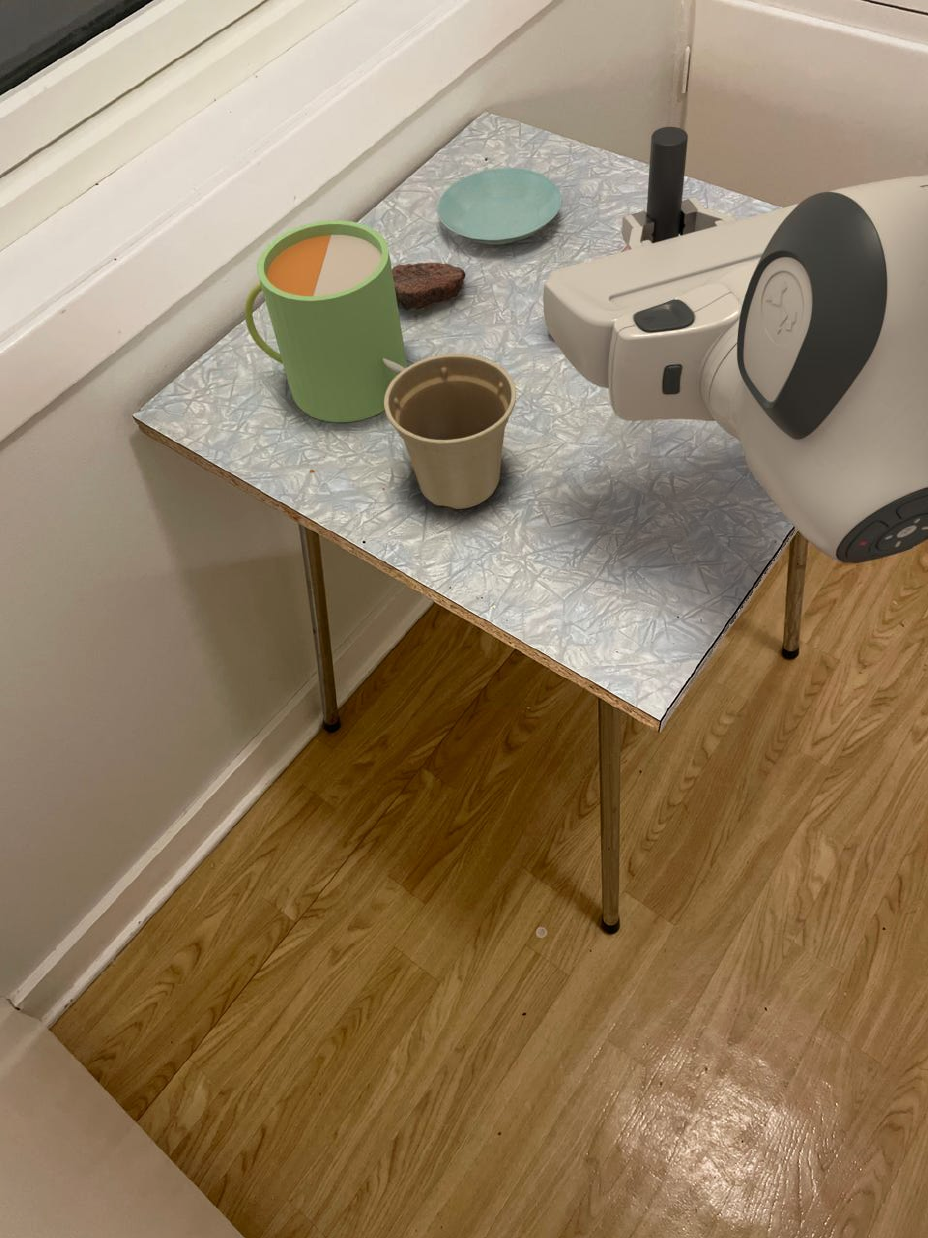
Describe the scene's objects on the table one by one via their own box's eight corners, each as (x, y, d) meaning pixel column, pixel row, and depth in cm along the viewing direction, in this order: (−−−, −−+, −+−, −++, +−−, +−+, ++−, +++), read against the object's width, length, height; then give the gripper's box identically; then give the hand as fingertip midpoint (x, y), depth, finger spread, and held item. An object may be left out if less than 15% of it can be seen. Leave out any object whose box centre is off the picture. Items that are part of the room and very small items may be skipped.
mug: (416, 339, 92) (397, 216, 82) (400, 422, 86) (378, 300, 76) (276, 339, 94) (242, 218, 84) (251, 421, 87) (211, 301, 78)
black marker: (662, 310, 76) (678, 122, 65) (675, 328, 75) (694, 139, 64) (634, 318, 76) (645, 131, 65) (646, 336, 74) (660, 148, 63)
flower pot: (452, 421, 85) (441, 335, 79) (545, 469, 81) (542, 383, 75) (375, 491, 82) (356, 407, 75) (468, 545, 78) (458, 462, 71)
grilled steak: (370, 300, 96) (365, 271, 93) (427, 263, 98) (423, 233, 96) (420, 330, 93) (416, 301, 90) (477, 290, 95) (475, 260, 93)
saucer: (436, 263, 98) (433, 241, 96) (442, 191, 105) (440, 170, 103) (563, 256, 97) (562, 235, 95) (560, 184, 104) (560, 163, 102)
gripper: (930, 248, 60) (808, 132, 68) (596, 343, 57) (511, 210, 66) (902, 337, 65) (791, 219, 73) (594, 428, 63) (515, 295, 71)
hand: (656, 215), depth 69 cm, fingers closed on black marker, 2 cm apart
